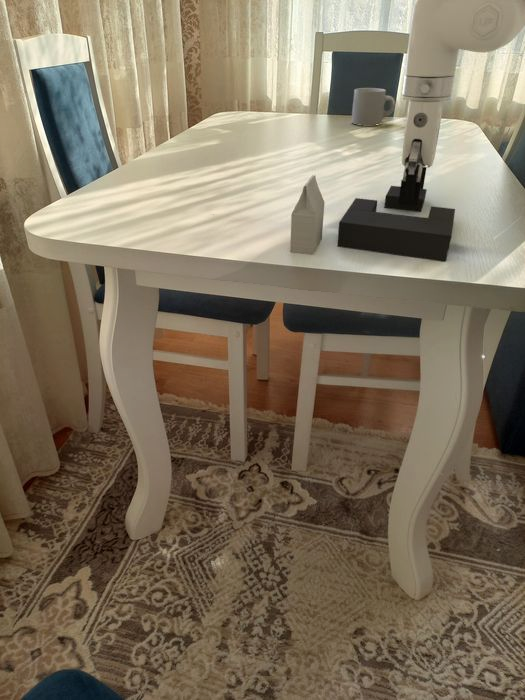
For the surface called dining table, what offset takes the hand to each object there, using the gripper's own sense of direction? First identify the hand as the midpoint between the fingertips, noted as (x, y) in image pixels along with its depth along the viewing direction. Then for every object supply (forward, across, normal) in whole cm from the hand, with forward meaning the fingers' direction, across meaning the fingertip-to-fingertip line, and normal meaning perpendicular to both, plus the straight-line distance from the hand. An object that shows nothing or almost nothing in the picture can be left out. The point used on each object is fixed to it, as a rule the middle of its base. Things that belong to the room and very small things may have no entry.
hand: (411, 196), depth 88 cm
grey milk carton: (+3, -20, +14) cm, 24 cm away
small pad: (+3, 0, +1) cm, 3 cm away
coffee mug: (+3, +87, +22) cm, 90 cm away
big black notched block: (+3, -12, +1) cm, 12 cm away
